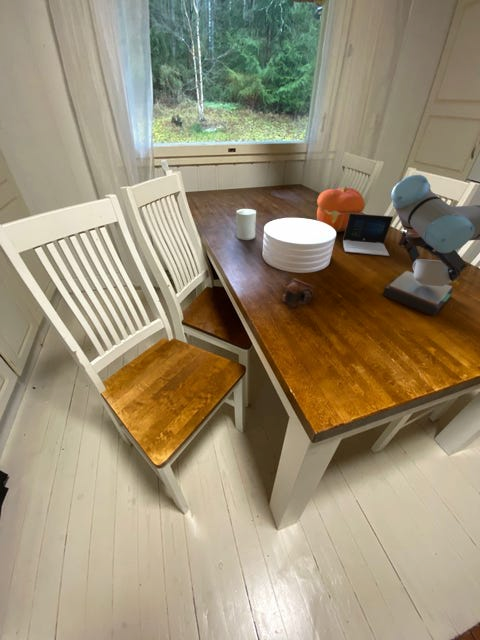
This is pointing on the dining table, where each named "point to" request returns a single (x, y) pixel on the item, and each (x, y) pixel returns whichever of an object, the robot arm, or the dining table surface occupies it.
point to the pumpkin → (338, 207)
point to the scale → (417, 293)
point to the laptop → (366, 234)
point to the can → (246, 224)
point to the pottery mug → (293, 290)
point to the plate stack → (298, 244)
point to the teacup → (431, 272)
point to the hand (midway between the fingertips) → (434, 267)
